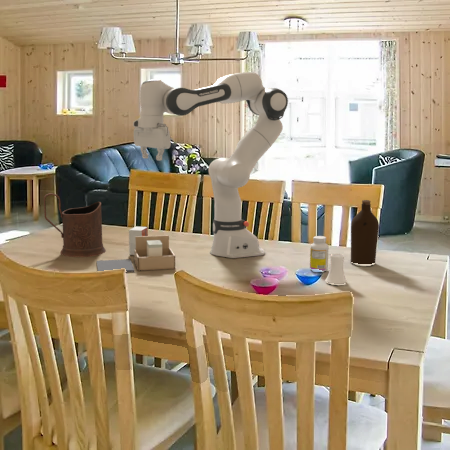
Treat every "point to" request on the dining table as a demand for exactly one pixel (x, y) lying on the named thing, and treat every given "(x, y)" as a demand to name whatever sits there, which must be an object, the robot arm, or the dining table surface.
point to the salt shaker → (336, 270)
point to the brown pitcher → (80, 230)
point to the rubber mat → (115, 265)
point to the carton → (156, 261)
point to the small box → (136, 233)
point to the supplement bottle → (319, 254)
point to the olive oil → (364, 235)
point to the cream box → (154, 248)
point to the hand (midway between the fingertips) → (152, 159)
